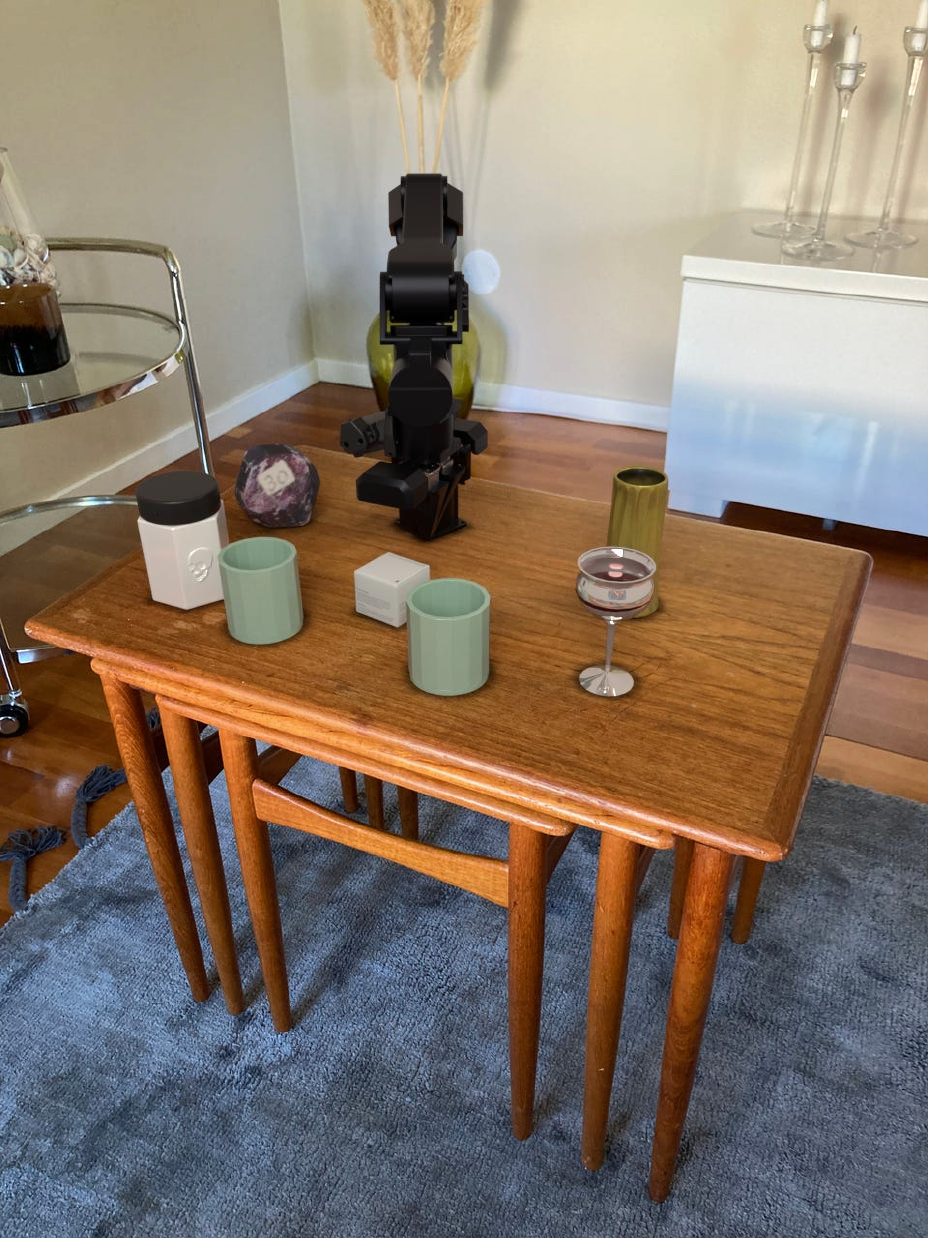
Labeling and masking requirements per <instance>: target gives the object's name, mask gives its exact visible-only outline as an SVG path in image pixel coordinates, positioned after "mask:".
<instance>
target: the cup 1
mask: <svg viewBox="0 0 928 1238" xmlns="http://www.w3.org/2000/svg"><path fill="white" fill-rule="evenodd" d="M217 558H218V565H219V571H220V578H221V584H222V591H223V598H224V599H223V605H224V610H225V617H226V624H227V629H228V633H229V635H230V636H231V637H232V638H233V639H234V640H236V641H238V642H241V643H244V644H248V645H270V644H276V643H279V642H282V641H286V640H288V639H291V638H292V637H294V636H295V635H296V634H298V633H299V632H300V631H301V629H302V627H303V626H304V607H303V600H302V590H301V579H300V571H299V570H300V569H299V561H298V552H297V549H296V546H295V545H294V544H293V543H292V542H290V541H288V540H287V539H283V538H279V537H275V536H255V537H247V538H243V539H239V540H237V541H234V542H231V543H229V545H228V546H226V547H225V548H223V549H222V550H221V551H220V553H219V554H218V556H217Z"/></svg>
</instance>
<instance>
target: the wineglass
mask: <svg viewBox="0 0 928 1238" xmlns="http://www.w3.org/2000/svg"><path fill="white" fill-rule="evenodd" d="M577 566H578V568H579V571H578V572H577V576H576V580H575V583H574V584H575V589H574V590H575V591H574V592H575V593H576V596H577V598H578V600H579V603H580V605H581V606H582V607H583V608H584V609H585V610H586V611H588V612H589V613H590V614H591V615H592V616H594V617H595V618H597V619H599V620H602V621H604V623H606V640H605V662H604V663H605V664H600V665H593V666H589V667H587V668H585V669H584V670H583V671H581V673H580V674H579V678H578V681H579V683H580V685H581V687H582V688H584V689H585V690H586V691H587V692H589V693H591V694H595V695H597V696H602V697H618V696H621V695H625V694H626V693H628V692H630V691H631V690H632V688H634V685H635V684H634V683H635V681H634V678H633V676H632V674H630V673H629V672H628V671H626V670H624V669H623V668H621V667H618V666H614V665H611V662H612V655H613V648H614V641H615V634H616V626H617V624H619V622H625V621H629V620H632V619H634V618H633V617H634V616H636V615H638V614H639V613H641V612H642V611H644V610H645V609H646V607H647V606H648V605H649V603H650V601H651V600H652V597H653V594H654V579H653V577H652V575H653V574H654V573H655V571H656V564H655V562H654V561H653V559H652V558H650V557H649V556H648V555H646V554H644V553H642V552H639V551H637V550H634V549H629V548H625V547H607V546H600V547H596V548H592V549H589V550H587V551H585V552H583V553H582V554H581V555H580V556H579V557H578V560H577Z"/></svg>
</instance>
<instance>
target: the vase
mask: <svg viewBox="0 0 928 1238" xmlns="http://www.w3.org/2000/svg"><path fill="white" fill-rule="evenodd" d="M612 477H613V478H612V490H611V501H610V510H609V520H608V521H609V523H608V529H607V536H606V537H607V538H606V547H625V548H629V549H634V550H637V551H639V552H642V553H644V554H646V555H648V556H649V557H650V558H652V559H653V561H654V562H655V564H656V571H655V573H654V574H653V575H652V577H653V579H654V594H653V597H652V600H651V601H650V603H649V605H648V606H647V607H646V609H645V610H644V611H642V612H641V613H639V614H638V615H636V616H634V617H633V618H632V619H638V618H644V617H647V616H649V615H651V614H653V613H655V612H656V611H657V610H658V607H659V581H660V579H659V578H660V563H661V562H660V561H661V550H662V542H663V541H662V540H663V532H664V524H665V515H666V508H667V499H668V491H669V476H668V474H667V473H666V472H665V471H663V470H661V469H658V468H655V467H652V466H645V465H633V466H625V467H623V468H622V467H621V468H619V469H617V470H615V472H614V473H613V475H612Z"/></svg>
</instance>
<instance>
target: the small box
mask: <svg viewBox="0 0 928 1238" xmlns="http://www.w3.org/2000/svg"><path fill="white" fill-rule="evenodd" d="M428 580H431V565H429V564H426V563H423V562H419V561H416V560H414V559H411V558H407V557H404V556H402V555H399V554H397V553H394V552H390V551H387V552H385V553H384V554H381V555H380V556H378V557H376V558H375V559H373V560H371V561H369V562H368V563H366V564H364V565H363V566H360V567H359V568H357V569H356V570H354V571H353V581H354V583H353V584H354V596H355V612H357V613H359V614H361V615H364V616H366V617H369V618H371V619H375V620H377V621H380V622H382V623H385V624H387V625H390V626H393V627H394V628H397V629H398V628H400V627H401V626H403V625H404V624H407V619H406V598H407V594H408V592H409V591H410V590H411V589H413V588H414V587H415V586H416V585H418V584H421V583H423V582H426V581H428Z"/></svg>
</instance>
